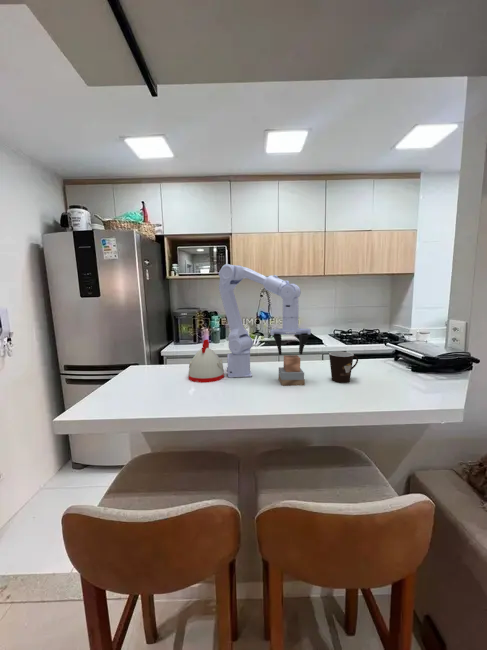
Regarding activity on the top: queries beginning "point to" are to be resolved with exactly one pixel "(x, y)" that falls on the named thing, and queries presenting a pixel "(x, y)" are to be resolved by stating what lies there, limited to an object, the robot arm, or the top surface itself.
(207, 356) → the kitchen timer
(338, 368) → the coffee mug
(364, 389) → the top surface
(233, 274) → the robot arm
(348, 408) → the top surface
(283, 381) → the walnut slab
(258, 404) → the top surface
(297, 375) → the slate slab
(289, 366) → the terracotta cube
